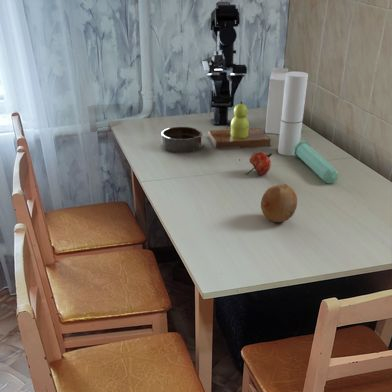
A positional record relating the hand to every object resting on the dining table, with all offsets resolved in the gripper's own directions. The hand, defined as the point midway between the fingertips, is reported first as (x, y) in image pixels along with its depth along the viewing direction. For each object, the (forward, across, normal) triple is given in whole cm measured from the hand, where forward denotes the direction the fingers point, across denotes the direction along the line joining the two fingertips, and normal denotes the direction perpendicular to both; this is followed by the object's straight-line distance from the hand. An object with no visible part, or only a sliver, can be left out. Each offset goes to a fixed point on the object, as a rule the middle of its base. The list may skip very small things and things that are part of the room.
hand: (224, 96), depth 195 cm
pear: (+12, +7, +2) cm, 14 cm away
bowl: (+16, 0, -18) cm, 24 cm away
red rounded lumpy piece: (+22, +34, -10) cm, 42 cm away
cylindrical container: (+17, +24, +11) cm, 31 cm away
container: (+21, +41, +8) cm, 47 cm away
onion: (+29, +63, -26) cm, 74 cm away
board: (+15, +6, +2) cm, 16 cm away
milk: (+12, +4, +21) cm, 25 cm away
